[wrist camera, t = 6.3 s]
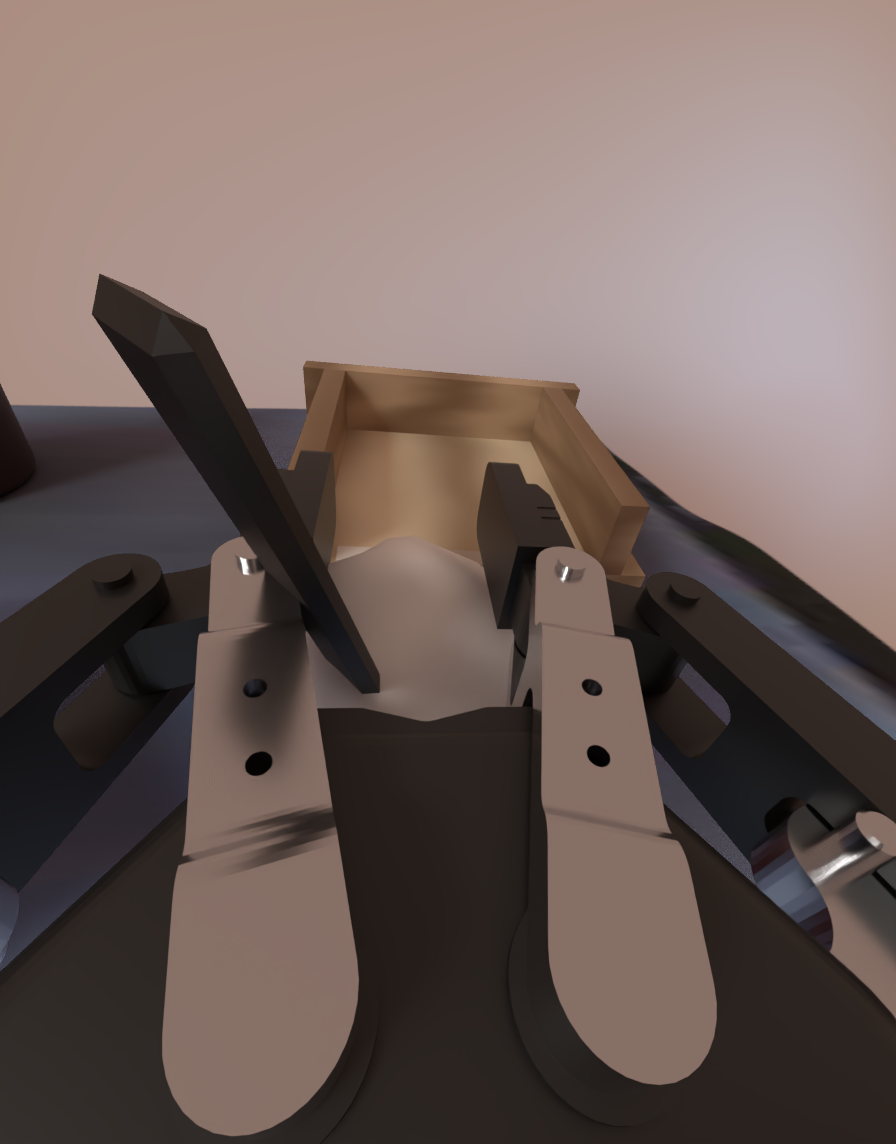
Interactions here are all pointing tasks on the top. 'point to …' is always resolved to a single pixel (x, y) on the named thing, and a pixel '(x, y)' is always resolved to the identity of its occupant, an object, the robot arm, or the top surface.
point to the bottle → (12, 449)
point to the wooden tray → (462, 459)
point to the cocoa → (287, 552)
